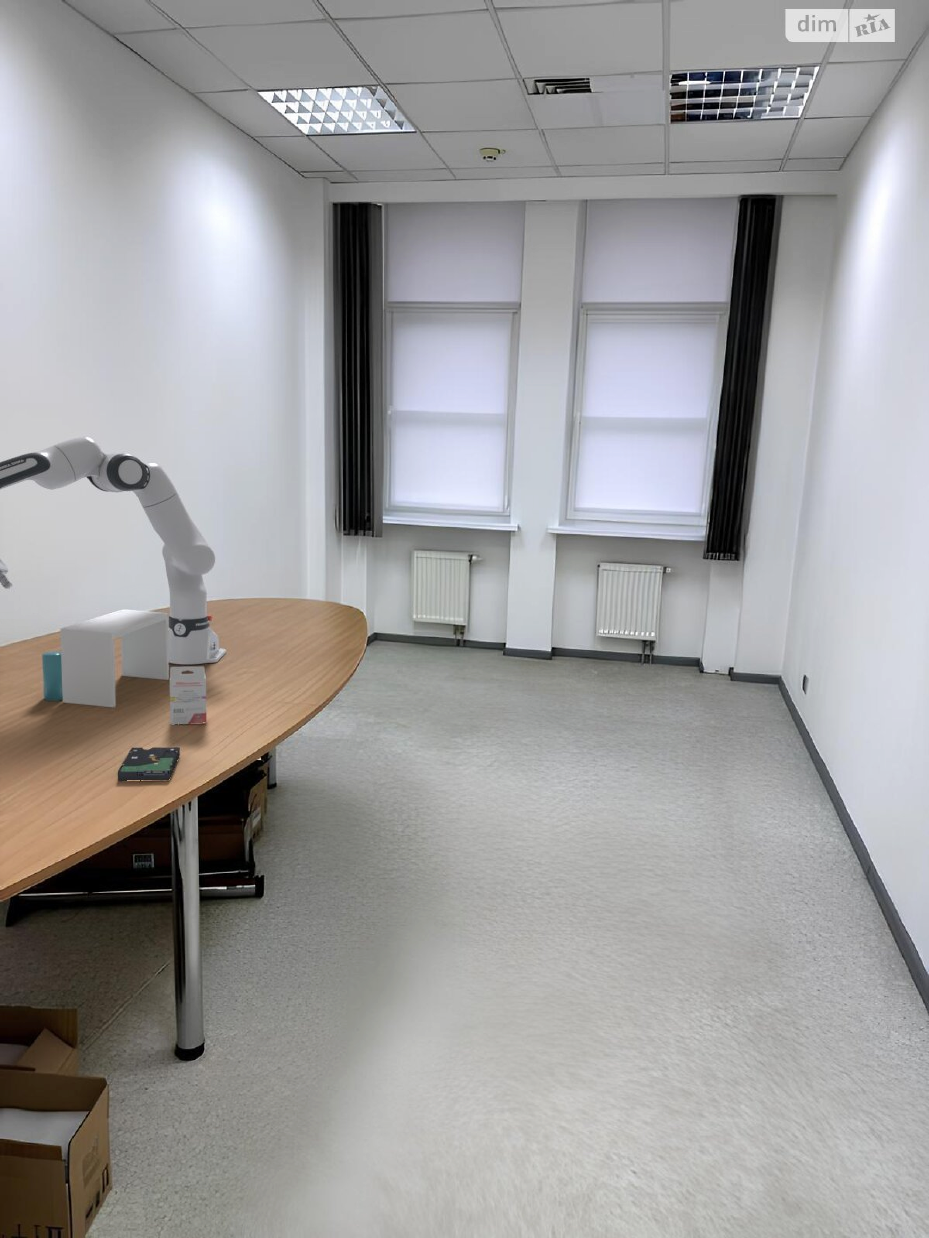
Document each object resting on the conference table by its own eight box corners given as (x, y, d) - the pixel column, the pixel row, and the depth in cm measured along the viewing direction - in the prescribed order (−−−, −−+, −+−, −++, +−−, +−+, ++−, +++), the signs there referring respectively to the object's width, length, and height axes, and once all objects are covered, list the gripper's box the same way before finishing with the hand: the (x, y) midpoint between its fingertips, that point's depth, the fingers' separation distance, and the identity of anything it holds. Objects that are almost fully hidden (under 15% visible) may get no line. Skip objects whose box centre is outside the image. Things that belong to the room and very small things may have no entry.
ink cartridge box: (206, 718, 216) (206, 661, 214) (206, 724, 212) (206, 666, 209) (170, 719, 214) (170, 662, 211) (169, 725, 209) (169, 667, 207)
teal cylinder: (52, 694, 229) (50, 650, 227) (71, 696, 228) (70, 652, 226) (39, 699, 224) (37, 655, 221) (58, 701, 223) (57, 656, 221)
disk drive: (130, 759, 188) (117, 784, 173) (130, 747, 187) (117, 770, 173) (180, 758, 190) (170, 783, 175) (180, 746, 189) (170, 769, 175)
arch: (123, 674, 252) (122, 609, 248) (168, 678, 250) (168, 613, 246) (62, 702, 222) (60, 628, 219) (113, 707, 221) (111, 633, 217)
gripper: (-46, 533, 209) (-6, 574, 210) (-10, 542, 229) (26, 580, 230) (-67, 550, 208) (-26, 592, 209) (-29, 558, 229) (8, 596, 230)
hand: (2, 586), depth 220 cm, fingers open, 8 cm apart
